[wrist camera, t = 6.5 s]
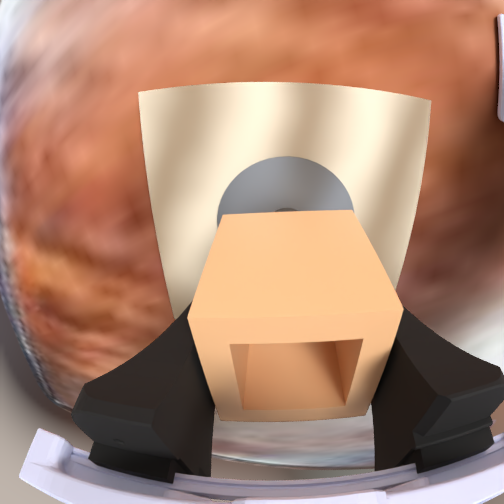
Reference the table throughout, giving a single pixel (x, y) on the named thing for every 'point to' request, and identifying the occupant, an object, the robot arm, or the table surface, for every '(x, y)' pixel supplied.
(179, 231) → the post board
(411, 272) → the table surface
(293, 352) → the collar
